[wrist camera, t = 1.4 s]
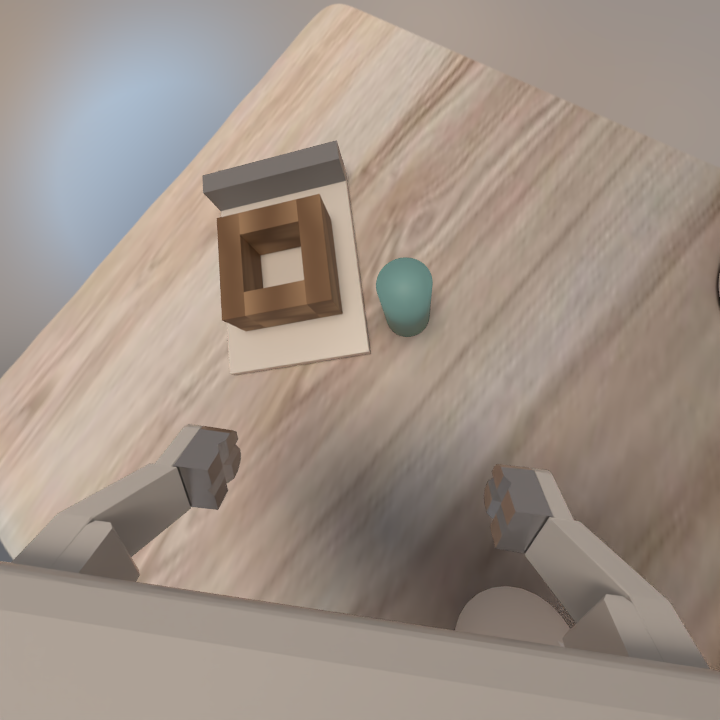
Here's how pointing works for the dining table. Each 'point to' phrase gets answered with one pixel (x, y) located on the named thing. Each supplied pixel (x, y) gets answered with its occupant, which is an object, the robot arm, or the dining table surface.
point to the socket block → (272, 234)
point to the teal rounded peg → (405, 295)
